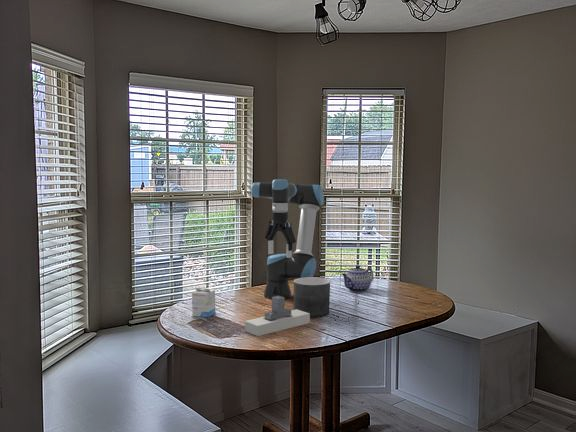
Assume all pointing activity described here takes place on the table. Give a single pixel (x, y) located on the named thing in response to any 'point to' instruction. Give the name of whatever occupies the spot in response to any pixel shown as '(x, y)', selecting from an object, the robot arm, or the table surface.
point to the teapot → (358, 279)
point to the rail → (276, 323)
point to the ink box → (203, 302)
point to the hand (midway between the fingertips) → (279, 255)
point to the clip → (278, 309)
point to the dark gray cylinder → (312, 296)
